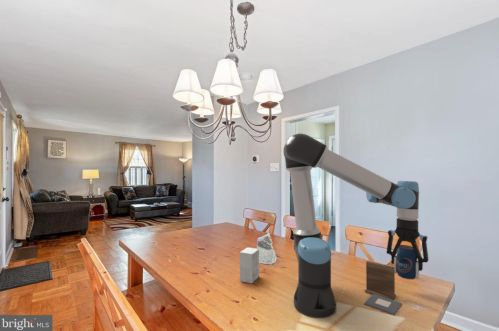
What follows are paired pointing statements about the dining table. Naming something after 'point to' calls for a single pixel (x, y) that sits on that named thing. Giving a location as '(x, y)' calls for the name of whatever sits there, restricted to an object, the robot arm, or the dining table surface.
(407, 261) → the soda can
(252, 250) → the small box
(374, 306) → the pad
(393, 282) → the walnut screen
